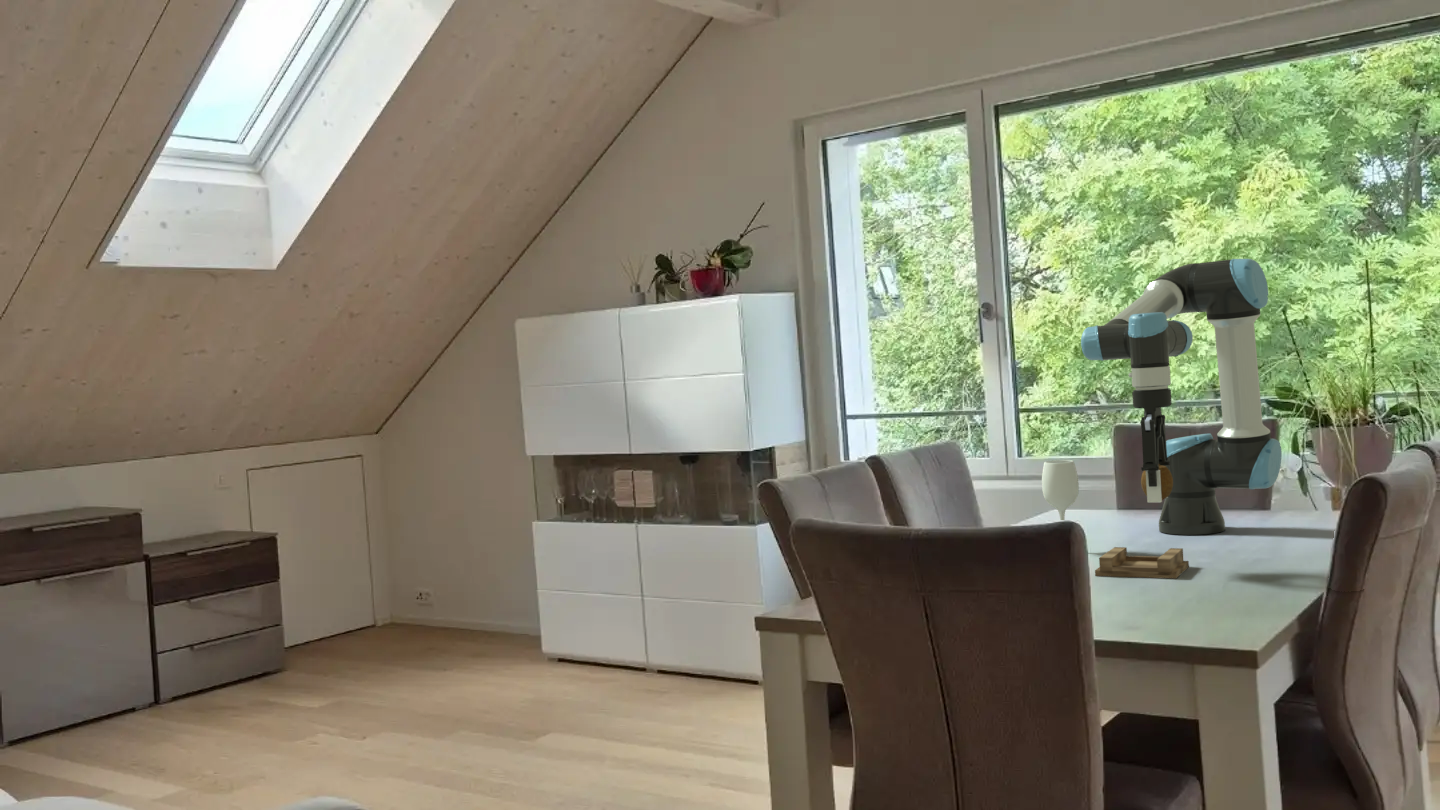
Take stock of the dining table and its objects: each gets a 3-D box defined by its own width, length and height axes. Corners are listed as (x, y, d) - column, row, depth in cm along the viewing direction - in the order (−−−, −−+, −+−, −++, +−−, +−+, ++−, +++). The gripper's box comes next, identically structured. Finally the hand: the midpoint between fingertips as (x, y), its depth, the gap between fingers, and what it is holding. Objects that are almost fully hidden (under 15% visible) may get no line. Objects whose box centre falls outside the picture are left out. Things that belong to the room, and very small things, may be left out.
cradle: (1110, 564, 269) (1109, 547, 269) (1188, 566, 260) (1187, 548, 260) (1095, 576, 258) (1094, 557, 258) (1176, 578, 249) (1175, 559, 249)
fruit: (1135, 501, 258) (1133, 463, 258) (1158, 498, 261) (1155, 460, 261) (1158, 504, 253) (1155, 465, 252) (1180, 500, 255) (1178, 461, 255)
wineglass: (1085, 554, 283) (1079, 462, 282) (1045, 555, 285) (1040, 464, 284) (1082, 548, 291) (1076, 458, 291) (1043, 549, 293) (1038, 460, 292)
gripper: (1141, 386, 266) (1147, 493, 267) (1122, 391, 249) (1129, 506, 250) (1178, 384, 262) (1184, 493, 263) (1162, 390, 246) (1168, 506, 247)
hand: (1157, 499), depth 257 cm, fingers closed on fruit, 6 cm apart
